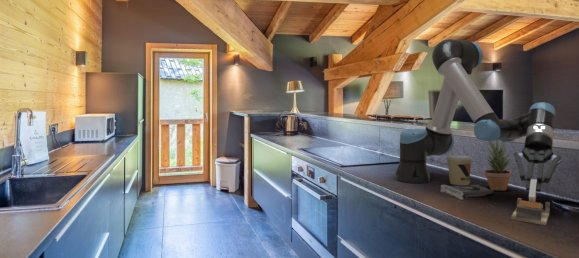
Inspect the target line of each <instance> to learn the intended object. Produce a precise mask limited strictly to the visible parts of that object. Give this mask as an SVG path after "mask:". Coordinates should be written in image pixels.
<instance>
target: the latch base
mask: <svg viewBox="0 0 579 258" xmlns="http://www.w3.org/2000/svg"><path fill="white" fill-rule="evenodd" d="M520 200H522V198H521V197H517V200H516V207H515V210H514V211H513V213H512V214H511V216H510V220H513V221H518V222H522V223H523V222H525V223H530V224H536V225H540V226H547V223H548V219H549V217H550V211H551V209H550V206H551V203H550V202H549V201H545V202H544V203H545V205H544V207H545V208H544V209H543V210H541V209H534V208H528V207H523V206H519V201H520Z"/></svg>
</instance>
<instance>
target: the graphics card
mask: <svg viewBox="0 0 579 258" xmlns="http://www.w3.org/2000/svg"><path fill="white" fill-rule="evenodd" d="M480 185H481V184H469V185H446V184H441V185H440V193H444V194H446V195H448V196H452V198H455V199H459V200H461V201H463V200H464V198H466V199H467V198H470V197H484V196H485V197H486V195H487V196H488V195H491V194H493V193H494V190H492V189H490V188H487V187H484V186H480Z"/></svg>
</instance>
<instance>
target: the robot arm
mask: <svg viewBox="0 0 579 258" xmlns="http://www.w3.org/2000/svg"><path fill="white" fill-rule="evenodd" d="M483 54H484V52H483V49H482V48H481V46H480V44H478V43H477V42H475V41H470V40H463V39H462V40H461V39H460V40H459V39H452V38H449V39H443V40H441V41H440V42H439V43H437V44H436V46H434V49H433V50H432V55H431V56H432V57H431V60H432V63H433V66H434V68H435V69H436V71H437V72H438V74H439V75H441V76H443V77H444V78H443V81H442V84H441V88H440V91H439V94H438V99H437V101H436V105H435V109H434V111H433V115H432V118H431V122H430V123H428V124H426V126H425V128H411V129H405V130H403V131H401V132H400V135H399V163H398V167H397V169H396V171H395V180H397V181H398V182H404V183H409V184H410V183H411V184H424V183H429V182H430V181H431V175H430V171H429V169H428V166H427V157H434V156H443V155H446V154H448V153H450V151H452V150H453V147H454V145H455V139H454V136H453V131H452V129H451V125H452V123H453V119H454V117H455V113H456V110H457V107H458V104H459V101H460V103H461V104H462V106H463V108H464V109H465V111H466V113H467V114H468V115H469V117H470V119H471V121H472V122H473V123H474V127H473V131H474V132H473V133H474V135H475V137H476V138H477V139H478V140H480V141H485V142H489V141H491V142H492V141H493V142H494V141H496V140H498V141H502V143H503V142H504V143H507V142H511V141H512V142H514V141H516V140H518V139H522V138H523V137H525V140H524V146H523V149H522V150H521V152H519V153H518V152H514V153H513V159H514V160H515V162H516V164H517V168H518V173H519V177H520V181H522V182H524V181H525V191H528V192H529V193H528V201H530V202H536V200H537V199H536V198H537V193H541V191H542V184H550V181H551V179H552V177H553V176H554V173H555V171H556V169H557V166H559V165H560V164H561V163H562V156H561V155H555V153H554V152H553V145H554V144H553V141H554V133H555V131H554V126H555V121H556V109H555V107H554V106H553V105H552V104H550V103H548V102H543V101H542V102H541V101H540V102H535V103H534V104H532V105H531V106H530V108H529V110H528V112H527V113H524V114H522V115H520V116H517V117H514V118H509V119H499V118H498V116H497V115H496V113H495V111H494V110H493V109H492V107H491V106H490V105H489V103H488V102H487V100H486V99H485V97H484V95H482V93H481V91H480V90H479V88H478V87H477V85H476V84H475V83H474V80H472V78H471V77H470V76H471V75H472V73H473V70H474V69H475V68H477V67H478V66H479V65H480V64H482V61H483V56H484V55H483ZM523 158H524V159H525V160H526V161H527V162H528V164H527V172H526V174H525V170H524V164H523V161H522V160H523ZM550 160H551V162H550V164H549V166H548V168H547V170H546V172H545V174H544V166H545V164H546V163H547V162H549V161H550ZM535 164H537V173H536V178H533V174H534V167H535ZM543 174H544V175H543Z"/></svg>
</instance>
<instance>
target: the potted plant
mask: <svg viewBox="0 0 579 258" xmlns="http://www.w3.org/2000/svg"><path fill="white" fill-rule="evenodd" d="M495 141H496V142H495V144H494V141H488V144H489V145H490V147H491V149H492V150H490V148H489V147H488V146H486V149H487V150H488V152H489V154H488V157H486V158H485V159H486V160H487V162H488V164H489V166H490V167H491V168H490V169H487V170H486V169H485V170H484V171H483V173H484V176H485V177H486V180H487V184H488V186H489V190H493V191H501V192H503V191H507V189H508V187H509V186H508V185H509V182H510V178H511V177H512V171H511V170H508V169H509V168H508V166H509V165H510V163H512V160H511V158H509V157H510V154H511V152H509V153H508V154H506V156H505V152H506V150H507V146H506V145H505V142H502V143H501V146H500V148H499V140H495ZM508 158H509V159H508Z"/></svg>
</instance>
